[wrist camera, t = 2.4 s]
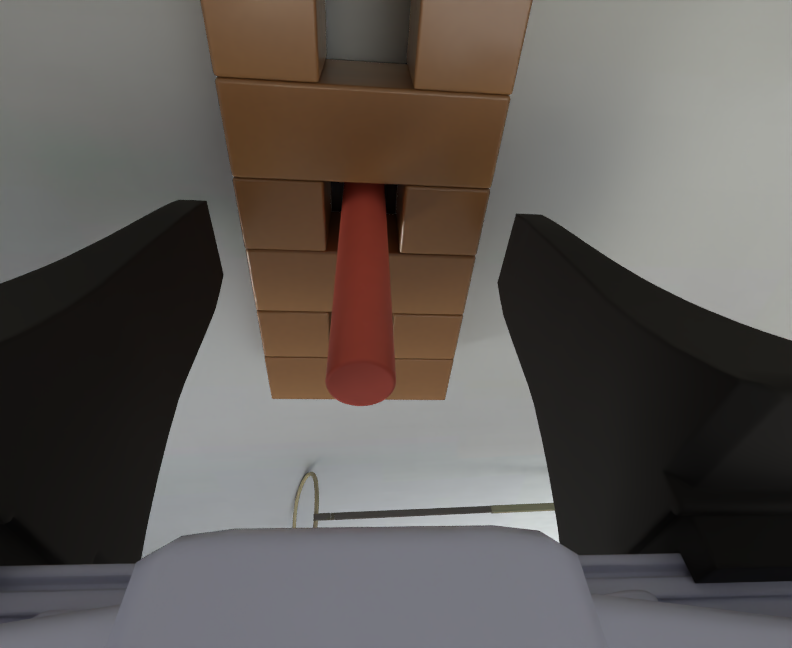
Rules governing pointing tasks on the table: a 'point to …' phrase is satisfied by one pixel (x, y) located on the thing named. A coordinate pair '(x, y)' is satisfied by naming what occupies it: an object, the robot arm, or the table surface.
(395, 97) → the caddy
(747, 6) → the table surface
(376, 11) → the table surface
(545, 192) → the table surface
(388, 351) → the red cylindrical rod
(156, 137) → the table surface
